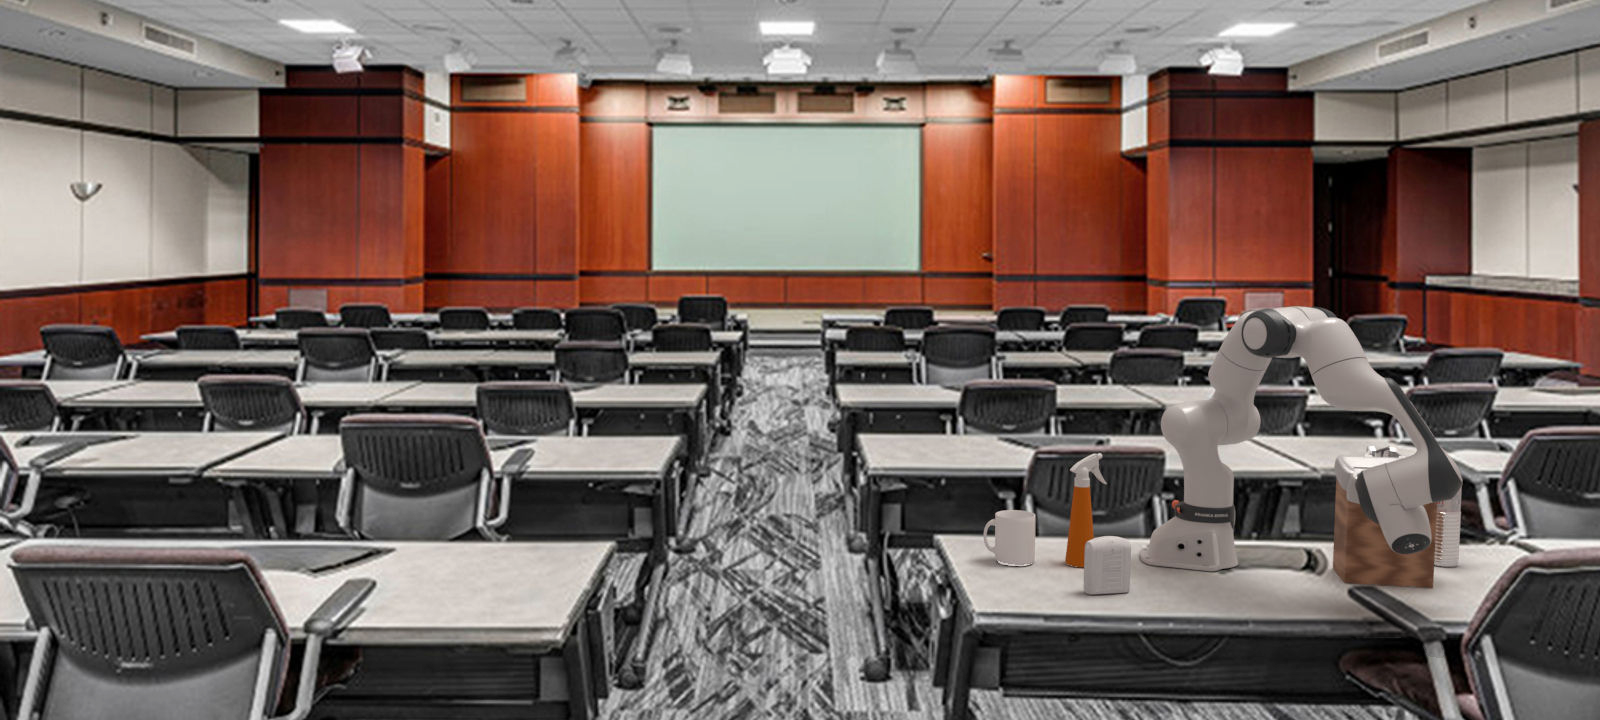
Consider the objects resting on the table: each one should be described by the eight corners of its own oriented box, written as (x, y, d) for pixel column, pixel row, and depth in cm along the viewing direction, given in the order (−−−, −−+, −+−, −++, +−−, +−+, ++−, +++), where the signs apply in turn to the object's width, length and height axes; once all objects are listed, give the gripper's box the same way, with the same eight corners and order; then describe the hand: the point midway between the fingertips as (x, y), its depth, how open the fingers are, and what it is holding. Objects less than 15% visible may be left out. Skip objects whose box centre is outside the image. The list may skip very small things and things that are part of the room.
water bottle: (1462, 568, 267) (1468, 463, 264) (1430, 567, 268) (1435, 462, 266) (1452, 561, 273) (1457, 458, 271) (1421, 559, 275) (1426, 457, 272)
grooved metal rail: (1392, 466, 242) (1387, 454, 242) (1377, 470, 243) (1372, 458, 243) (1393, 457, 259) (1389, 446, 260) (1379, 461, 261) (1375, 450, 261)
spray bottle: (1114, 564, 271) (1116, 454, 269) (1078, 569, 267) (1080, 458, 264) (1094, 557, 278) (1096, 450, 275) (1058, 562, 273) (1060, 453, 270)
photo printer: (1123, 587, 252) (1124, 532, 251) (1133, 593, 248) (1134, 537, 247) (1080, 591, 250) (1081, 535, 249) (1089, 596, 246) (1090, 540, 245)
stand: (1344, 582, 255) (1349, 468, 253) (1332, 568, 267) (1337, 458, 265) (1433, 588, 251) (1438, 471, 249) (1417, 573, 263) (1422, 461, 260)
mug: (1037, 568, 268) (1038, 519, 267) (985, 567, 269) (986, 518, 268) (1031, 557, 278) (1032, 510, 277) (982, 556, 278) (982, 509, 277)
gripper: (1453, 482, 231) (1437, 439, 242) (1343, 477, 236) (1332, 435, 247) (1447, 505, 235) (1431, 461, 245) (1339, 500, 239) (1328, 457, 250)
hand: (1381, 448), depth 246 cm, fingers closed on grooved metal rail, 3 cm apart
